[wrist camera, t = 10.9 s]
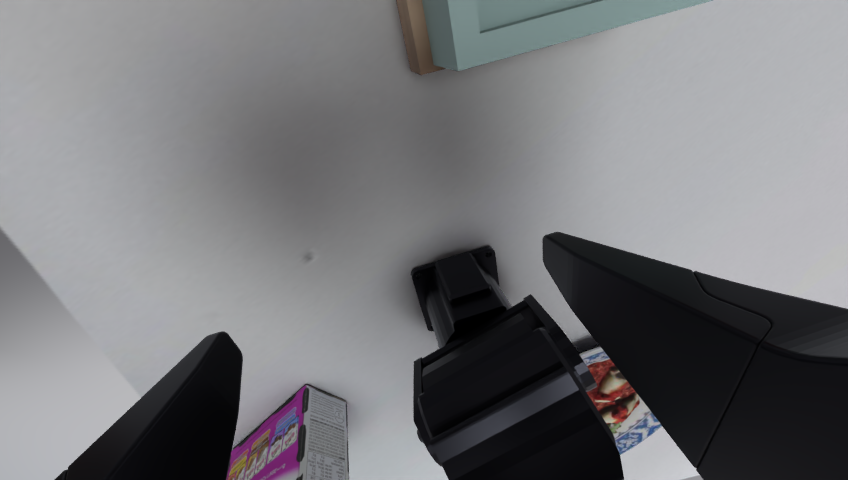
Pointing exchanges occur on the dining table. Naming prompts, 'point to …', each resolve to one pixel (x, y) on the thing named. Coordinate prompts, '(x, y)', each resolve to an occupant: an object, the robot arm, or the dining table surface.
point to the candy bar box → (297, 442)
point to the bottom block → (416, 36)
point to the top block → (525, 25)
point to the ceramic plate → (618, 402)
